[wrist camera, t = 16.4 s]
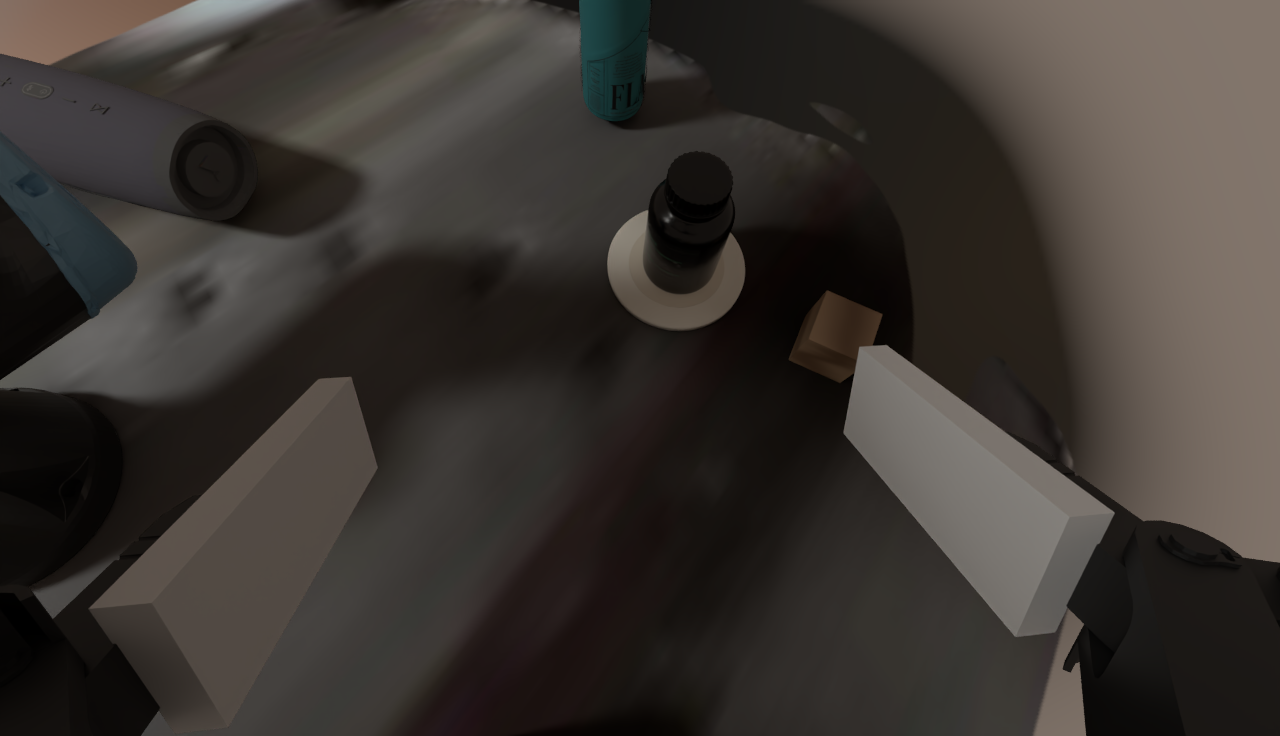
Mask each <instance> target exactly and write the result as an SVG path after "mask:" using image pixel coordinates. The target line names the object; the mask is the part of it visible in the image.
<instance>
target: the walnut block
mask: <svg viewBox="0 0 1280 736" xmlns="http://www.w3.org/2000/svg"><path fill="white" fill-rule="evenodd" d="M882 315H883V314H881V313H878V312H876V311H874V310H871V309H869V308H867V307H864V306H862V305H860V304H857V303H855V302H853V301H850V300H848V299H846V298H844V297H841V296H839V295H837V294H834V293H832V292H830V291H826V292H825V293H824V294H823V296H822V297H821V298H820V299H819V300H818V301H817V303H816V304H815V305H814V306H813V307H812V308H811V310H810V311H809V312H808V313H807V314H806V316H805V318H804V321H803V324H802V326H801V329H800V331H799V334H798V336H797V339H796V342H795V344H794V347H793V349H792V352H791V354H790V357H789V359H788V360H790V361H792V362H794V363H797V364H799V365H801V366H803V367H805V368H808V369H810V370H812V371H814V372H817V373H819V374H821V375H823V376H826V377H828V378H830V379H832V380H834V381H837V382H839V383H841V382H842V381H843V380H845V379H846V378H848V377H849V376H851V375H852V374H853V373H855V368H856V363H857V358H858V352H859V347H865V346H872V345H873V342H874V339H875V336H876V333H877V330H878V327H879V324H880V321H881V318H882Z"/></svg>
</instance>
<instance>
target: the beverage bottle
mask: <svg viewBox="0 0 1280 736" xmlns="http://www.w3.org/2000/svg"><path fill="white" fill-rule="evenodd" d="M651 1H652V0H579V5H580V24H581V28H580V29H581V39H580V40H581V41H580V42H581V49H580V47H579V49H580V51H581V55H580V56H582V57H581V58H582V72H581V73H582V74H581V75H582V76H583V82H582V83H583V85H582V86H583V95H584V100H585V103H586V105H587V107H588V109H589V110H590V111H591V112H592V113H593V114H594V115H596V116H597V117H599V118H602V119H605V120H609V121H621V120H625V119H628V118H630V117H632V116H633V115H634V114H635V113H636V112H637V111H638V110H639V108H640V106H641V105H642V104H641V103H642V100H643V98H644V97H645V96H644V97H643V95H645V94H644V92H645V91H644V87H645V86H644V81H645V82H646V76H645V65H646V57H647V56H646V53H647V45H648V43H647V40H648V32H649V31H650V29H649V18H650V17H649V15H650V4H652V3H651ZM648 29H649V31H648ZM579 36H580V35H579ZM580 68H581V67H580ZM646 68H647V67H646ZM646 73H647V70H646ZM581 78H582V77H581ZM644 78H645V80H644ZM581 81H582V80H581ZM645 85H646V84H645ZM581 88H582V87H581ZM643 101H644V100H643Z"/></svg>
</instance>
